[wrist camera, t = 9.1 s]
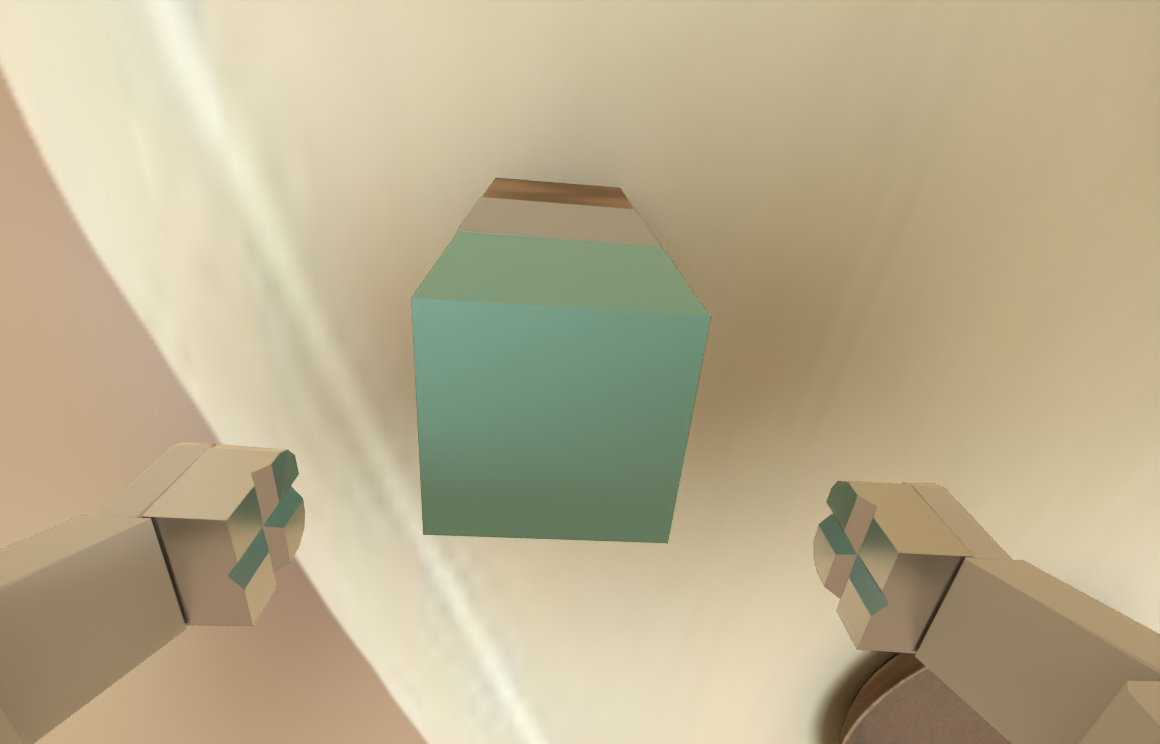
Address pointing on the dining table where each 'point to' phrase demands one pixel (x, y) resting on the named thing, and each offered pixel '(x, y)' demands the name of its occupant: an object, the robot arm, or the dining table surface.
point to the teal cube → (554, 388)
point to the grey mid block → (557, 221)
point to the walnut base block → (558, 193)
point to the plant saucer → (913, 710)
